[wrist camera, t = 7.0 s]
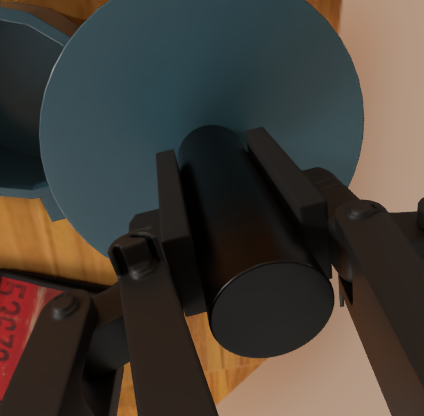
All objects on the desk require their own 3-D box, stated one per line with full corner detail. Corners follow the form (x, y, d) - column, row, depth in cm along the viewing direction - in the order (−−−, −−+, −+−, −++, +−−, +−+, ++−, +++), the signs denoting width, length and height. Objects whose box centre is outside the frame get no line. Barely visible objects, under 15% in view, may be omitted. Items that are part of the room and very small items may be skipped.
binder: (124, 301, 44) (82, 418, 52) (126, 288, 46) (85, 402, 55) (-31, 269, 40) (-49, 401, 48) (-21, 256, 42) (-40, 385, 50)
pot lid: (349, -70, 15) (701, -178, 6) (356, 233, 22) (513, 413, 13) (-20, 18, 15) (-325, 65, 5) (109, 298, 22) (81, 534, 12)
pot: (70, -55, 30) (50, -68, 23) (143, 167, 39) (143, 202, 33) (-106, -13, 29) (-177, -15, 23) (10, 201, 39) (-17, 243, 32)
